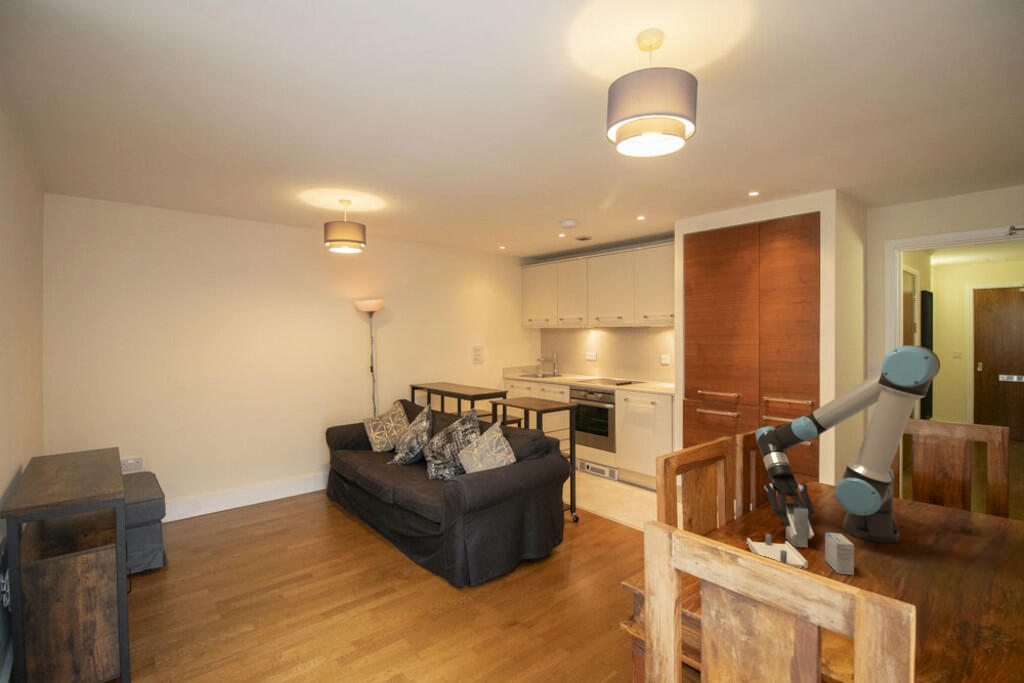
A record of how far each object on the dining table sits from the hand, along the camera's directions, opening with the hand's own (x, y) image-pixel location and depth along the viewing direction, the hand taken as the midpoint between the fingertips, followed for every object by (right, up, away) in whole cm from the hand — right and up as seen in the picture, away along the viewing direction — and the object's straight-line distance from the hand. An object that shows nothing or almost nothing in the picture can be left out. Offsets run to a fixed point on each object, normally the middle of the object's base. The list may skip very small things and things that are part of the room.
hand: (802, 536), depth 152 cm
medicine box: (+3, -4, -13) cm, 14 cm away
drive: (0, -4, +4) cm, 5 cm away
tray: (-11, -4, -5) cm, 13 cm away
